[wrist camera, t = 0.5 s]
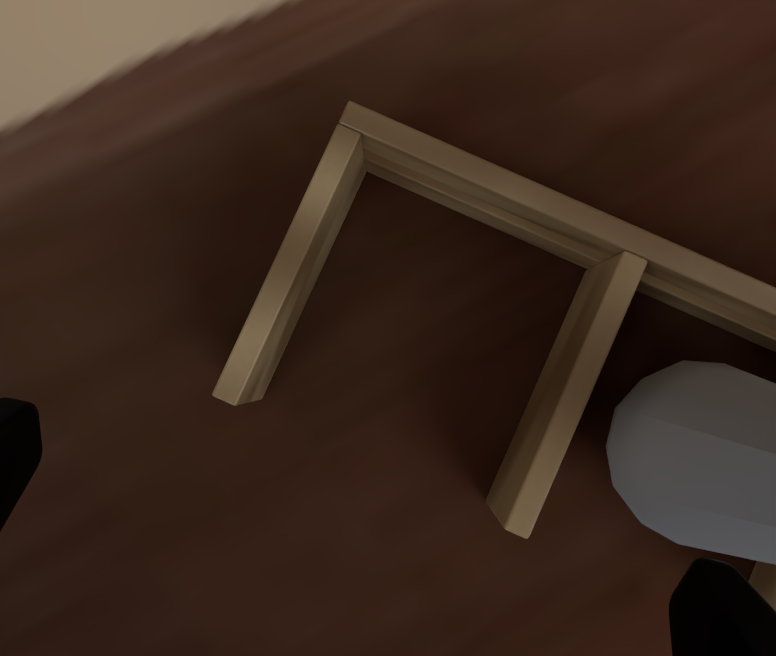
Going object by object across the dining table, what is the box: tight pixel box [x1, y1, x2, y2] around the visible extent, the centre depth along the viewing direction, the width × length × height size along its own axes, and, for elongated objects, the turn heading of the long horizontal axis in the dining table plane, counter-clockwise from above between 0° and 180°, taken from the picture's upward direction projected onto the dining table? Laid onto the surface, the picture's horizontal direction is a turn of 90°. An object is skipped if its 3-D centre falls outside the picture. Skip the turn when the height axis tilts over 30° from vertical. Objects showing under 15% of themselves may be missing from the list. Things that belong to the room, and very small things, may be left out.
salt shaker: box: [606, 360, 776, 565], centre depth 17 cm, size 6×6×13 cm
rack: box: [212, 101, 776, 611], centre depth 21 cm, size 10×20×4 cm, turn 66°
